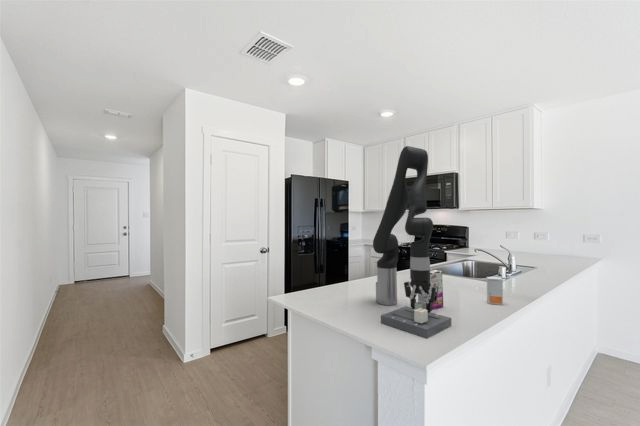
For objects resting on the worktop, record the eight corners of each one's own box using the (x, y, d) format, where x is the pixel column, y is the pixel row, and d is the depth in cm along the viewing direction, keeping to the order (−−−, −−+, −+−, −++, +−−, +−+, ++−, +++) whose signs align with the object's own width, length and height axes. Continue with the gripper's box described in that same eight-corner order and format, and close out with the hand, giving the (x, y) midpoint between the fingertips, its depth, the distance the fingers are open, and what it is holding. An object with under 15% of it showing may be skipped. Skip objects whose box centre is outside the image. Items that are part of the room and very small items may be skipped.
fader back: (414, 313, 119) (414, 302, 119) (420, 311, 121) (420, 300, 121) (421, 315, 116) (421, 304, 116) (427, 312, 119) (427, 302, 119)
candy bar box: (435, 304, 141) (434, 269, 141) (443, 307, 137) (442, 271, 137) (417, 308, 136) (416, 271, 136) (426, 311, 132) (425, 273, 132)
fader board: (380, 322, 119) (380, 315, 119) (406, 313, 130) (406, 306, 130) (427, 338, 103) (426, 329, 103) (451, 325, 114) (451, 317, 114)
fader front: (414, 321, 110) (414, 310, 110) (420, 318, 112) (420, 307, 112) (421, 323, 108) (421, 312, 108) (427, 320, 110) (427, 309, 110)
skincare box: (488, 304, 140) (487, 278, 140) (487, 301, 144) (486, 276, 144) (503, 305, 137) (502, 279, 138) (501, 302, 141) (501, 277, 141)
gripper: (442, 268, 116) (443, 312, 116) (409, 264, 127) (410, 304, 127) (431, 271, 111) (432, 317, 111) (399, 266, 122) (400, 308, 122)
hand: (420, 310), depth 119 cm, fingers open, 6 cm apart
